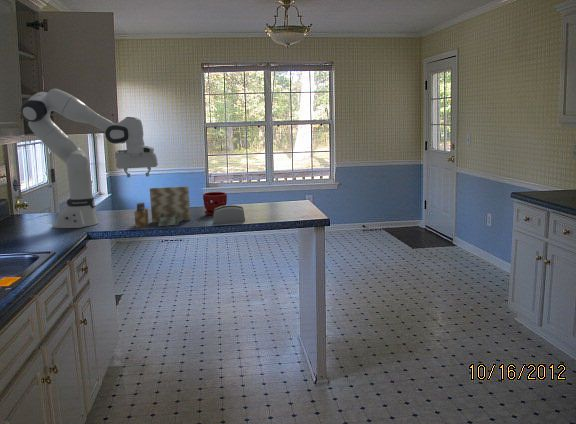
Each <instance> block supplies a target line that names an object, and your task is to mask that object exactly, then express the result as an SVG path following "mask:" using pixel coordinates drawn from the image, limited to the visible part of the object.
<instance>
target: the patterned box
mask: <svg viewBox="0 0 576 424" xmlns="http://www.w3.org/2000/svg"><path fill="white" fill-rule="evenodd" d="M189 188H190V187H189V186H187V185H186V186H169V187H168V186H166V187H164V186H163V187H149V196H150V197H149V198H150V199H149V200H150V208H151V211H150V212H151V221H152V223H158V227H159V226H164V227H167V226H166V225H178V226H179V225H180V223H181V222H182V221H181V220H186V221H191V220H192V219H191V218H192V217H191V208H190V207H191V206H190V205H191V204H190V189H189ZM179 222H180V223H179Z"/></svg>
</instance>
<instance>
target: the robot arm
mask: <svg viewBox="0 0 576 424" xmlns="http://www.w3.org/2000/svg"><path fill="white" fill-rule="evenodd" d="M54 112H55V113H57V114H59V115H61V116H63V117H64V118H65V119H68V120H71V121H73V122H77V123H83V124H88V125H91V126H94V128H95V127H96V128H97V129H98V130H101V131H103V132H104V135H105V139H106V140H107V141H108V142H110V143H111V144H116V145H117V144H118V145H119V144H126V145H125V146H126V149H123V150H122V149H119V150H118V149H117V151H115V153H114V157H115V159H116V160H115V161H116V162H115V164H116V166H115V167H116V168H117V169H118V170H121V169H123V171H124V173H125V174H126V178H131V173H129V172H128V169H141V168H146V169H147V172H145V177H150V172H151V169H152V168H157V166H158V165H159V163H158V158H157V154H156V153H155V148H154V147H151V146H148V145H145V141H144V135H145V134H144V126H143V122H142V120H141V119H140V118H138V117H134V116H133V117H132V116H126V117H124V119H122V120H120V121H119V122H114V121H112V120H109V119H107V118H106V117H104V116H102V115H100V114H98V113H97V112H96V111H95V110H93V109H92V108H90V106H88V105H87V104H85V102H83V101H82V100H80V99H79V98H77V97H76V96H74V95H73V94H70V93H68V92H66V91H64V90H61V89H59V88H52V89H50V90H48V89H44V90H39V91H38V92H37V93H35V94H33V95H32V96H31V97H30V98H28V99H27V100H26V101H25V102H24V103H22V105H21V107H20V113H21V115H22V117H23V119H25V120H26V121H27V122H28V123H27V124H28V127H29V129H30V130H31V132H32V133H33V134H34V135H35V137H37V139H38V140H39V141H41V143H43V145H45V146H46V147H47V149H49V150H50V151H51V152H52V153H53V154H55V156H57V157H58V158H59V160H61V161H62V162H63V163H65V164H66V170H67V171H66V172H67V179H68V189H69V197H70V198H68V200H66V205H67V206H66V207H65V208H64V209H62V211H61V212H59V213H58V214H57V218H56V223H54V224H53V225H52V229H74V228H75V229H79V228H85V227H91V226H95V225H98V224H99V219H98V218H97V215H96V214H97V213H96V211H95V207H96V205H95V198H94V195H93V189H92V188H93V186H92V176H91V165H90V158H89V156H88V154H87V152H85V151H84V150H83V149H82V148H80V146H79V145H78V144H77V143H76V142H75V141H74V140H73V139H71V138H70V137H69V136H68V135H67V134H66V133H65V132H64V131H63V130H62V129H61V128H60V127H59V126H58V125H57V124H56V123H55V122H54V121H53V120H52V118H51V115H53V114H54Z"/></svg>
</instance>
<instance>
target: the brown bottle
mask: <svg viewBox="0 0 576 424" xmlns="http://www.w3.org/2000/svg"><path fill="white" fill-rule="evenodd" d="M149 222H150V220H149V210H148V208H146V207H145V202H138V203H136V210H134V223H135V228H147V226H148V225H149Z"/></svg>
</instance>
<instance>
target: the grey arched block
mask: <svg viewBox="0 0 576 424" xmlns="http://www.w3.org/2000/svg"><path fill="white" fill-rule="evenodd" d="M222 222H225V223H234V222H235V223H239V222H246V216H245V210H244V208H243V206H241V205H236V204H226V205H225V206H220V207H217V208H215V209H214V215H213V216H212V224H223V223H222Z"/></svg>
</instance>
